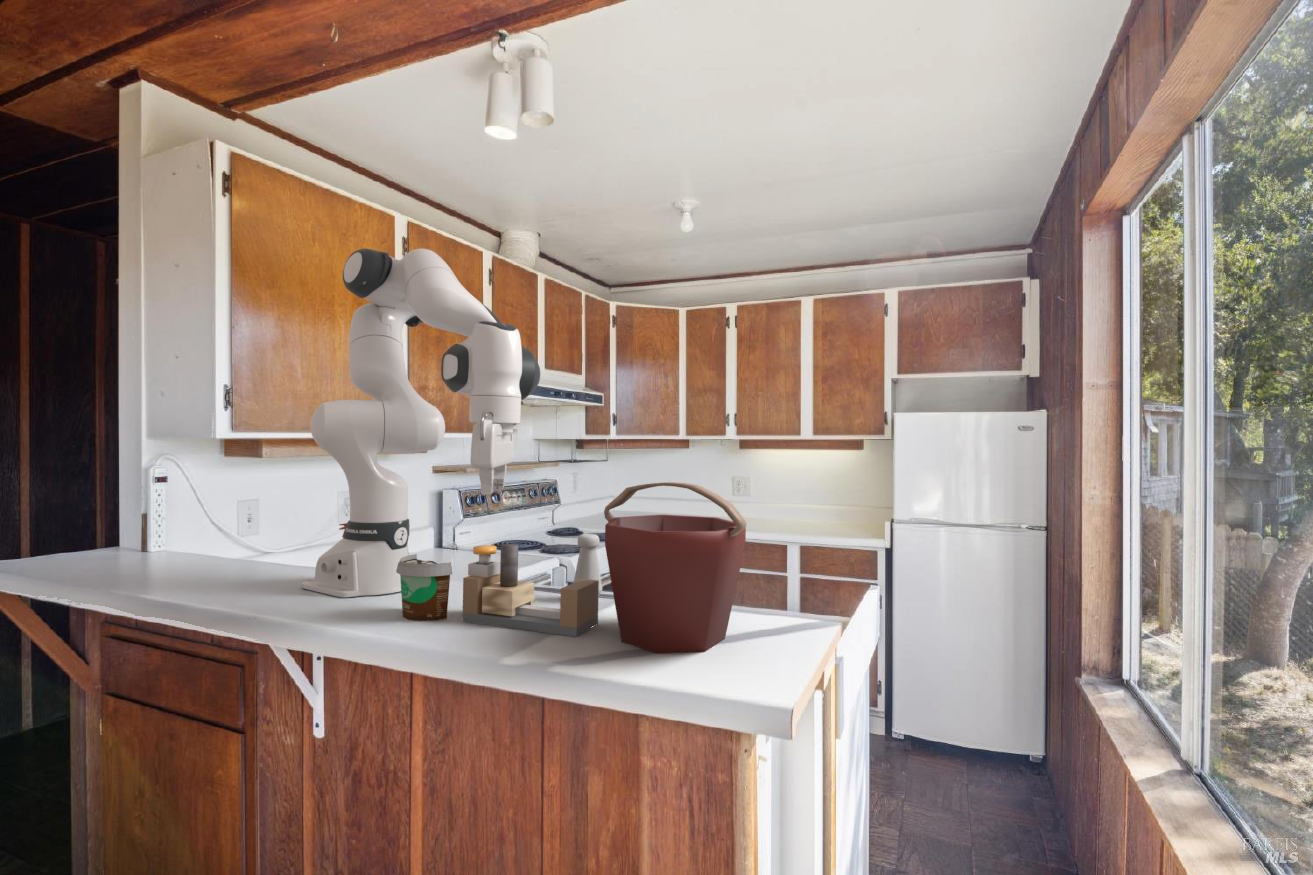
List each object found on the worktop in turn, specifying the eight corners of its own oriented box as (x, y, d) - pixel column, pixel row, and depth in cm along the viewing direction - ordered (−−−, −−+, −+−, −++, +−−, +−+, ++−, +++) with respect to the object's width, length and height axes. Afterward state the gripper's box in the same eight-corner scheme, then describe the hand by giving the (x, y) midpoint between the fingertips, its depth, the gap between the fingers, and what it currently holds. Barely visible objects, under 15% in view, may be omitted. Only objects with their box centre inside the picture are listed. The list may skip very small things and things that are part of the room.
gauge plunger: (468, 565, 114) (468, 548, 114) (481, 561, 118) (482, 544, 118) (487, 567, 113) (487, 549, 113) (500, 563, 117) (501, 546, 117)
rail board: (460, 620, 112) (461, 565, 112) (487, 609, 120) (488, 558, 120) (576, 636, 105) (577, 577, 105) (597, 624, 112) (598, 568, 112)
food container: (382, 613, 116) (383, 557, 116) (413, 607, 121) (414, 553, 121) (418, 627, 108) (420, 567, 108) (451, 620, 113) (452, 562, 113)
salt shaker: (597, 604, 125) (598, 537, 125) (568, 602, 126) (569, 535, 126) (605, 597, 131) (606, 533, 131) (578, 595, 132) (579, 531, 132)
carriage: (481, 612, 111) (483, 547, 111) (505, 602, 118) (506, 541, 118) (511, 616, 109) (513, 549, 109) (533, 606, 116) (535, 543, 116)
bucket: (572, 633, 106) (575, 480, 106) (662, 609, 123) (665, 477, 123) (686, 671, 90) (690, 490, 90) (773, 637, 106) (776, 484, 106)
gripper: (501, 412, 104) (499, 498, 105) (522, 414, 125) (520, 486, 125) (461, 411, 104) (459, 497, 104) (489, 413, 125) (487, 485, 125)
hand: (493, 491), depth 115 cm, fingers open, 8 cm apart
